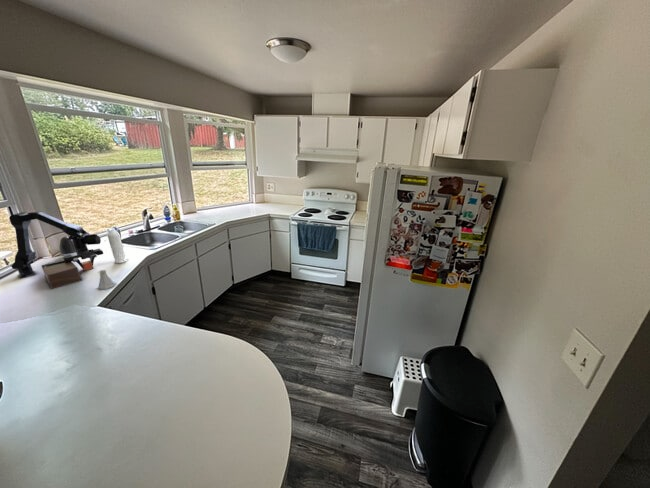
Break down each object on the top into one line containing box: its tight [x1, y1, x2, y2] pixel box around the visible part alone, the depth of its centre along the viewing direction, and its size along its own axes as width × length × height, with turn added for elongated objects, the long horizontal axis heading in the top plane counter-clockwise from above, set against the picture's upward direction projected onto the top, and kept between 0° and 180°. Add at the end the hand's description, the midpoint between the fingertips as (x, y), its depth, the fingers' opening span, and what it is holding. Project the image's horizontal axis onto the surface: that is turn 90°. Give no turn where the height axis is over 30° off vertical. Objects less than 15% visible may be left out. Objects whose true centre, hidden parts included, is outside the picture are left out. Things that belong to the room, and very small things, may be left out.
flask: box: [97, 269, 116, 290], centre depth 144 cm, size 7×7×10 cm
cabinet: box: [41, 261, 83, 289], centre depth 150 cm, size 15×13×9 cm
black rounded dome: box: [58, 236, 77, 257], centre depth 182 cm, size 10×10×15 cm
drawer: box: [41, 259, 65, 269], centre depth 156 cm, size 18×11×7 cm, turn 54°
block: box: [80, 260, 94, 271], centre depth 165 cm, size 4×4×4 cm
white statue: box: [106, 227, 127, 264], centre depth 173 cm, size 9×6×25 cm
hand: (87, 267), depth 166 cm, fingers closed on block, 4 cm apart
